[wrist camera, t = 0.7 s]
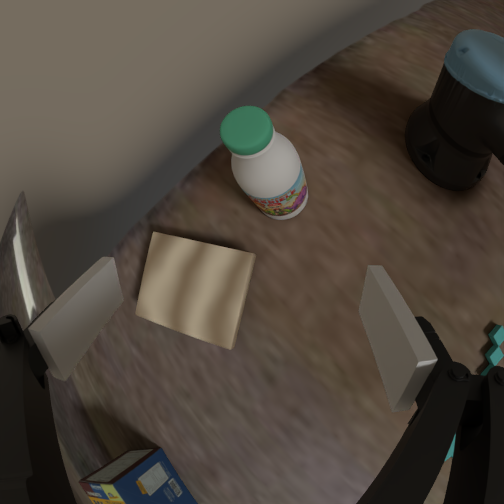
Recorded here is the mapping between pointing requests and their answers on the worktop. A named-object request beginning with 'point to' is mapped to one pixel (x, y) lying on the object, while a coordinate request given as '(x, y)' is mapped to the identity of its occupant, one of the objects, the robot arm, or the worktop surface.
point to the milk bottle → (264, 163)
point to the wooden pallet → (195, 288)
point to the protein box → (137, 480)
